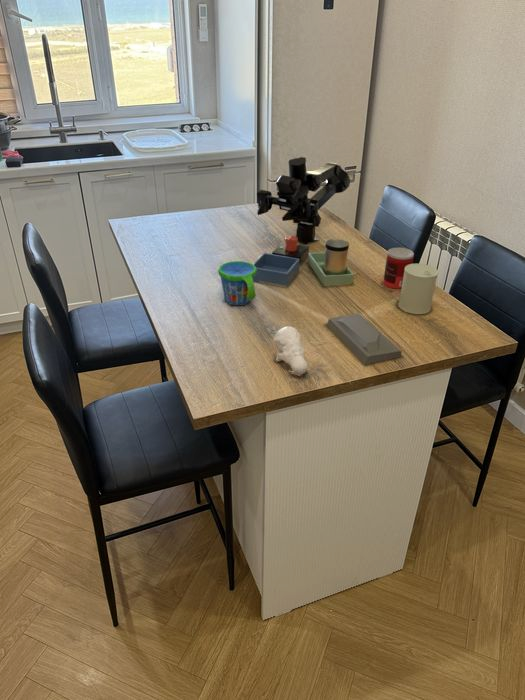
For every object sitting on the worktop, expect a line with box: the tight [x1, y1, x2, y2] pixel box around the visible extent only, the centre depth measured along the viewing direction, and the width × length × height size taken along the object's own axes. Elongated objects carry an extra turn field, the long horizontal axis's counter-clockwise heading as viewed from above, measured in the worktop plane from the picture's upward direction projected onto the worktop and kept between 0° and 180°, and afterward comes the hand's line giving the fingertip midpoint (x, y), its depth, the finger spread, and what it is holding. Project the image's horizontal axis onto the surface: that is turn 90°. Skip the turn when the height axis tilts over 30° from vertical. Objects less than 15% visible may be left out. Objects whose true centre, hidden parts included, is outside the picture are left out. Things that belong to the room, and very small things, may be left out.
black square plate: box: [271, 241, 310, 265], centre depth 185 cm, size 10×10×3 cm
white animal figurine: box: [273, 325, 309, 377], centre depth 129 cm, size 6×8×12 cm
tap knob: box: [284, 235, 299, 252], centre depth 183 cm, size 4×4×4 cm
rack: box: [307, 251, 355, 286], centre depth 175 cm, size 18×9×4 cm, turn 11°
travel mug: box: [323, 238, 350, 276], centre depth 169 cm, size 7×7×12 cm
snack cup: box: [217, 260, 257, 306], centre depth 156 cm, size 16×10×10 cm
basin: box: [252, 252, 301, 287], centre depth 172 cm, size 12×12×5 cm
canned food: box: [382, 247, 415, 291], centre depth 166 cm, size 8×8×11 cm
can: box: [397, 263, 439, 315], centre depth 155 cm, size 9×9×12 cm
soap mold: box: [326, 313, 402, 366], centre depth 141 cm, size 10×20×4 cm, turn 22°
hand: (270, 216), depth 173 cm, fingers open, 9 cm apart
